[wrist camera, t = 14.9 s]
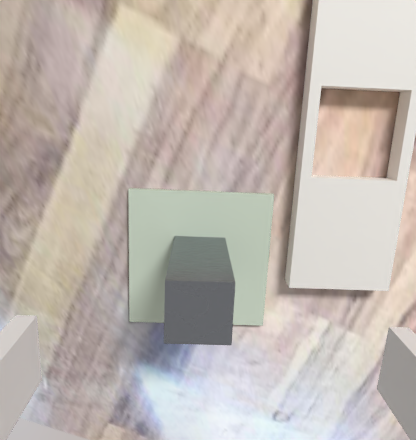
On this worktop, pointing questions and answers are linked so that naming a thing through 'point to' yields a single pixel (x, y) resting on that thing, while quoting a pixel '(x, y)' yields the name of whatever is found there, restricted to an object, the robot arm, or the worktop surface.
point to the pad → (198, 227)
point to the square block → (199, 292)
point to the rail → (346, 185)
